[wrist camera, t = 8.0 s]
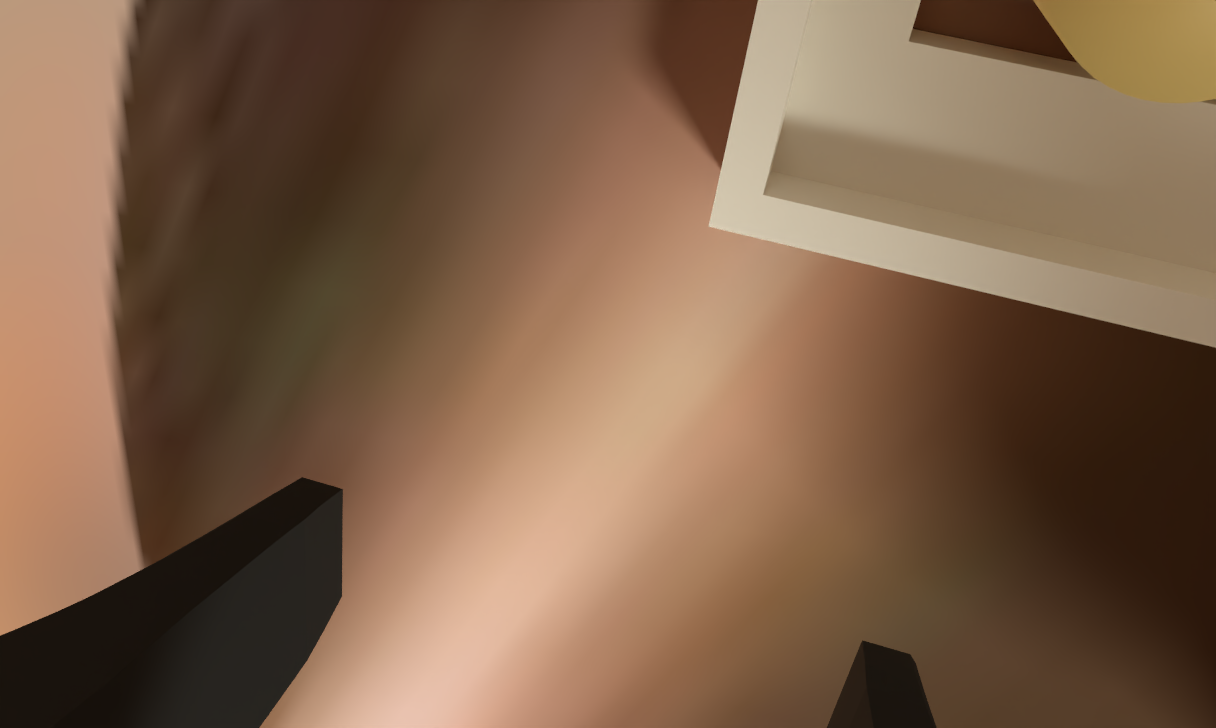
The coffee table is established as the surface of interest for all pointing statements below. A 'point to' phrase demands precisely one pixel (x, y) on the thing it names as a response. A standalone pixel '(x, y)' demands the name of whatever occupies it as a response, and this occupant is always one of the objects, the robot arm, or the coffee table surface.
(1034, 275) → the bore box
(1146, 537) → the coffee table surface
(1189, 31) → the peg
